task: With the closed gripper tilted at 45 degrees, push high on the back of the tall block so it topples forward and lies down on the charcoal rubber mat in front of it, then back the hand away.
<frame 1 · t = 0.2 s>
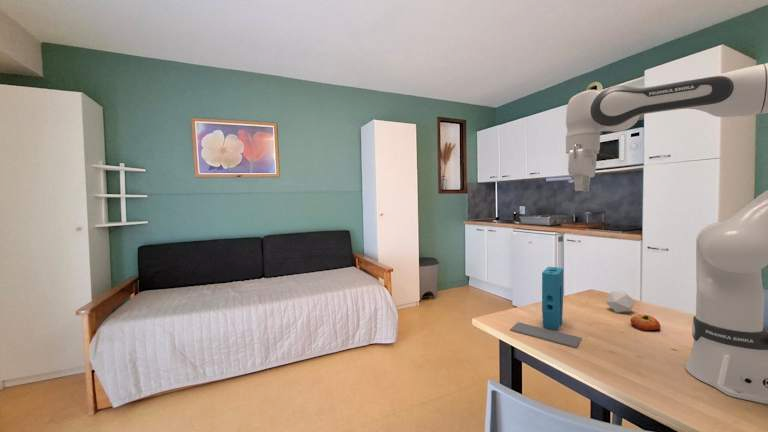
hand: (582, 191, 94), 48 cm above the table, tool pointing down, fingers open, 8 cm apart
block: (552, 325, 110), on the table
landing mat: (544, 334, 102), on the table
tomato: (644, 328, 106), on the table
die: (620, 311, 122), on the table
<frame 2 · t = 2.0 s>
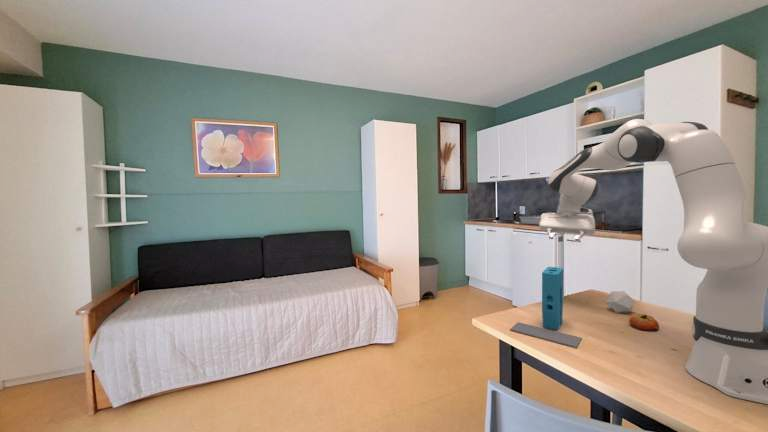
hand: (563, 239, 124), 29 cm above the table, tool tilted 45°, fingers open, 8 cm apart
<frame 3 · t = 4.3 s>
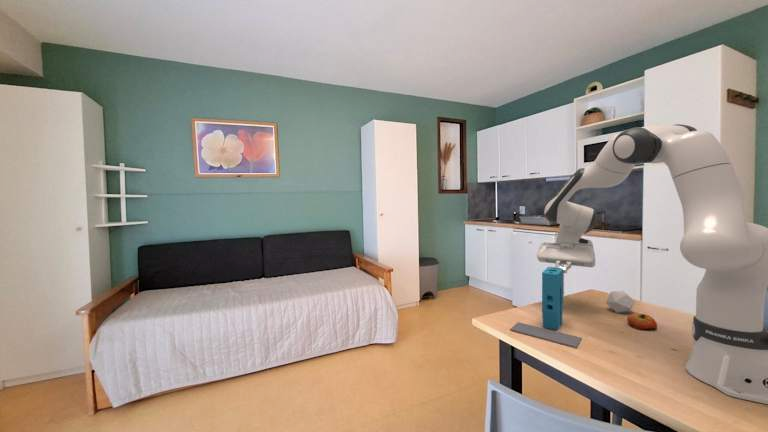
hand: (562, 272, 119), 17 cm above the table, tool tilted 45°, fingers closed
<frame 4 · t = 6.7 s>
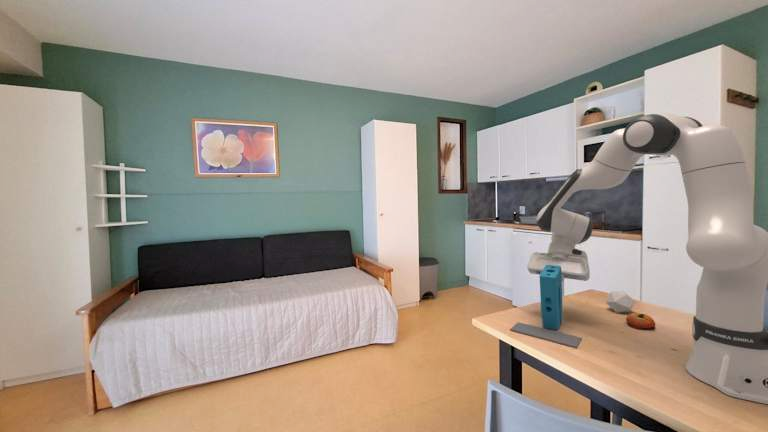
hand: (553, 285, 110), 14 cm above the table, tool tilted 45°, fingers closed, pressing on block
block: (552, 323, 110), on the table, touching gripper
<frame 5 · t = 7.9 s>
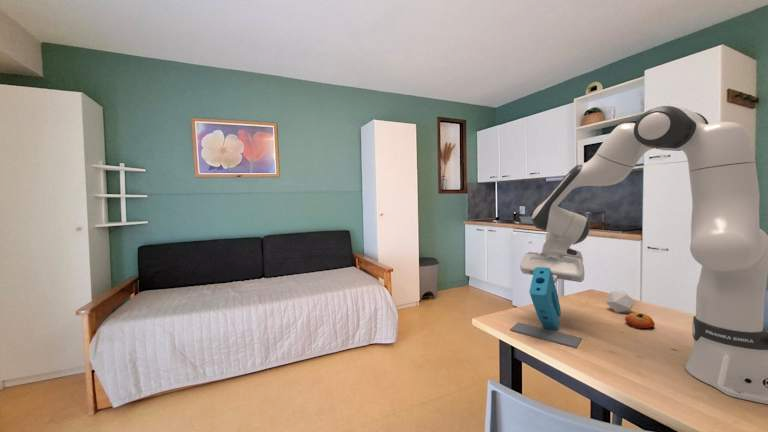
hand: (546, 286, 105), 15 cm above the table, tool tilted 45°, fingers closed, pressing on block
block: (552, 319, 110), point 2 cm above the table, touching gripper
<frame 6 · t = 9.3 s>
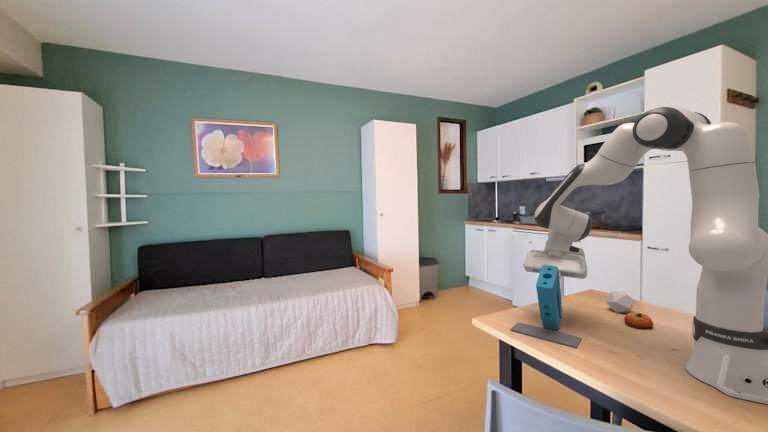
hand: (550, 283, 107), 16 cm above the table, tool tilted 45°, fingers closed
block: (552, 320, 110), point 2 cm above the table
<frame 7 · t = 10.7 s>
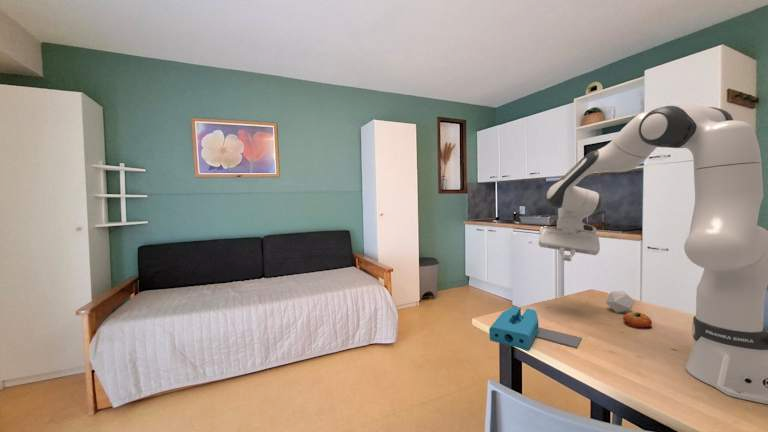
hand: (566, 260, 115), 22 cm above the table, tool tilted 35°, fingers closed
block: (524, 314, 112), point 4 cm above the table, touching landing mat
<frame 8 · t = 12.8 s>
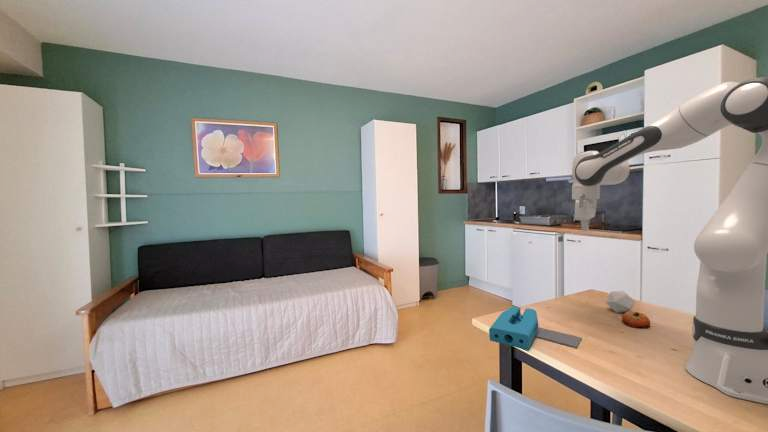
hand: (585, 230, 116), 33 cm above the table, tool pointing down, fingers closed
at the end: block tilted 94°; block touching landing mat, table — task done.
